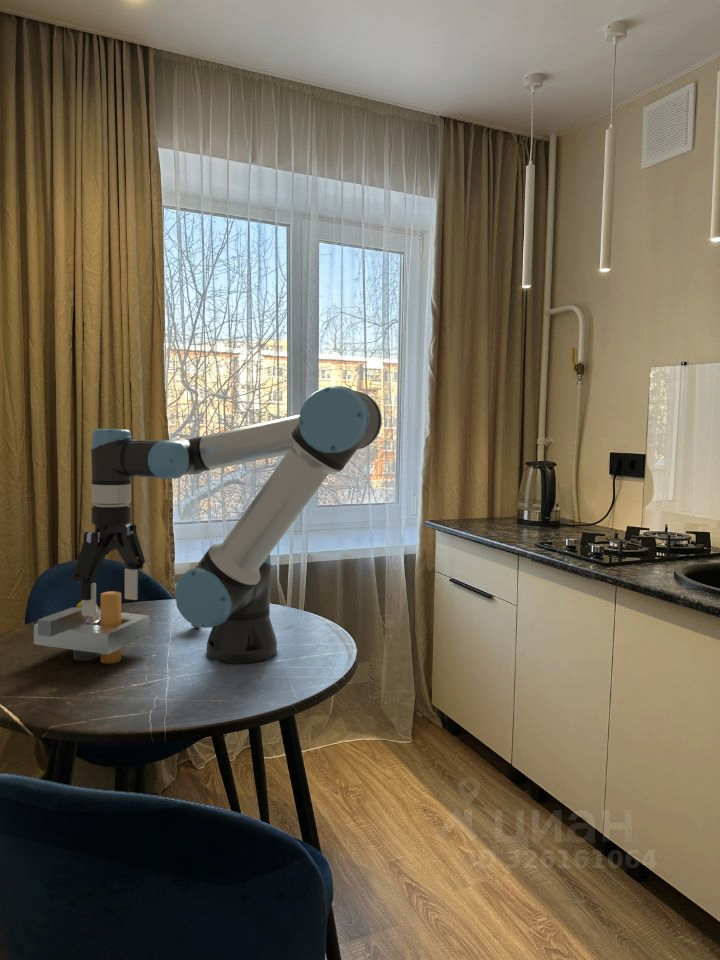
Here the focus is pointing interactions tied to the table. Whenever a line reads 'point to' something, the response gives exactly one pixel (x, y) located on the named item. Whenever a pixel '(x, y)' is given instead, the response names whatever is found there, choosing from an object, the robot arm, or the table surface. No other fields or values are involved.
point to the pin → (111, 620)
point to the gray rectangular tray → (89, 632)
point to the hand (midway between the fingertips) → (111, 607)
